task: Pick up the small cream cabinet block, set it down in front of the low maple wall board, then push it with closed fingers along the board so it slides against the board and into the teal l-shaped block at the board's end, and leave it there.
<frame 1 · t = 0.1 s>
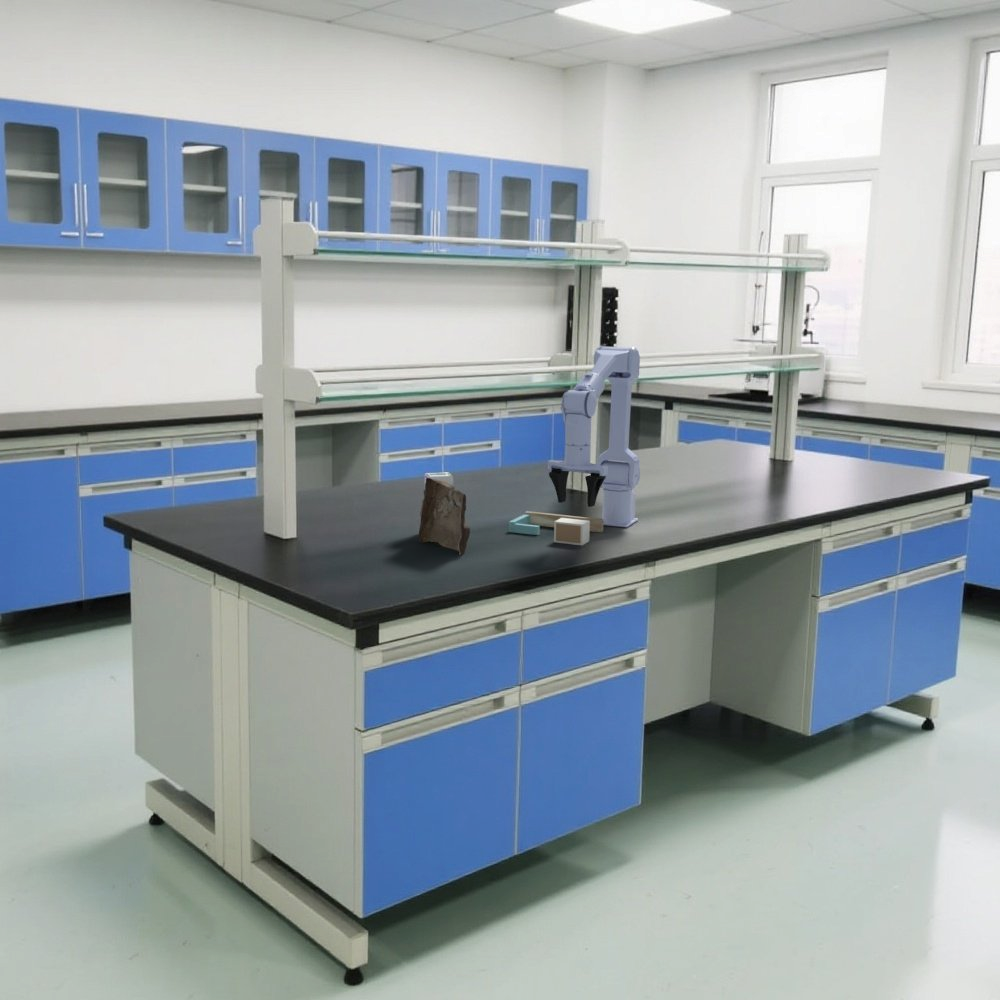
hand: (576, 503, 249), 10 cm above the countertop, tool pointing down, fingers open, 7 cm apart
wall board: (563, 527, 270), on the countertop
syrup box: (438, 534, 263), on the countertop
mineral sample: (445, 549, 249), on the countertop
teal l-shaped block: (531, 529, 268), on the countertop
cabinet block: (571, 542, 256), on the countertop
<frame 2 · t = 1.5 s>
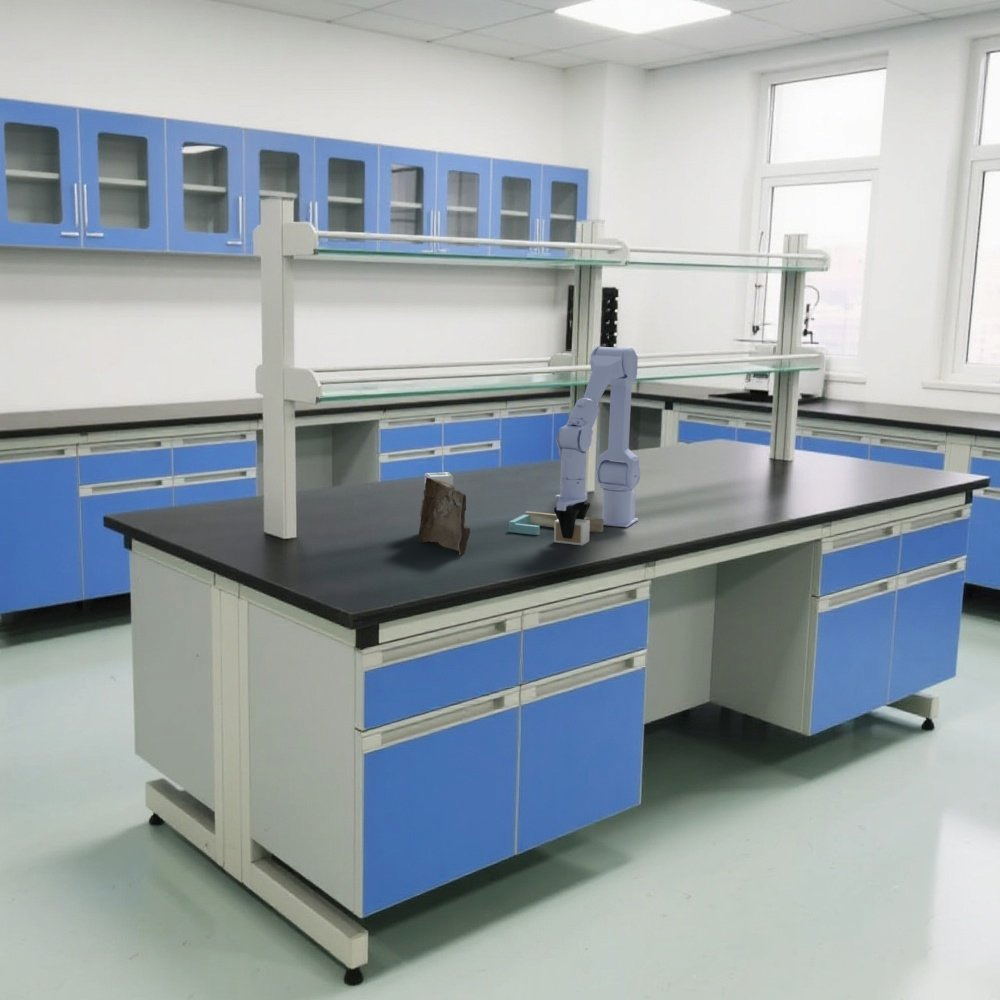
hand: (571, 535, 256), 1 cm above the countertop, tool pointing down, fingers closed on cabinet block, 5 cm apart
cabinet block: (571, 541, 256), on the countertop, touching gripper
everything else where it was.
when the fingers open (7 cm above the countertop, at t = 3.4 s): cabinet block drops 3 cm, on the countertop.
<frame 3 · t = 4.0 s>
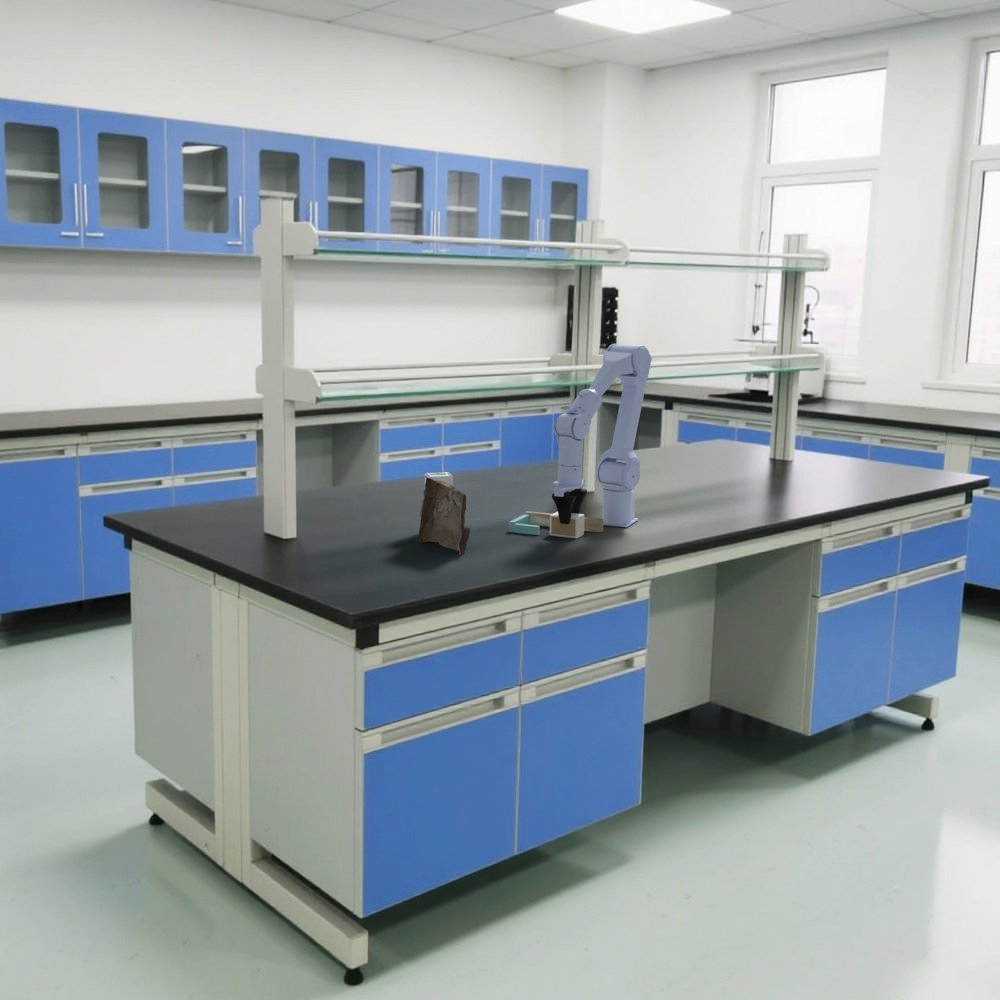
hand: (569, 521, 262), 3 cm above the countertop, tool pointing down, fingers open, 5 cm apart
cabinet block: (566, 535, 263), on the countertop
everything else where it was.
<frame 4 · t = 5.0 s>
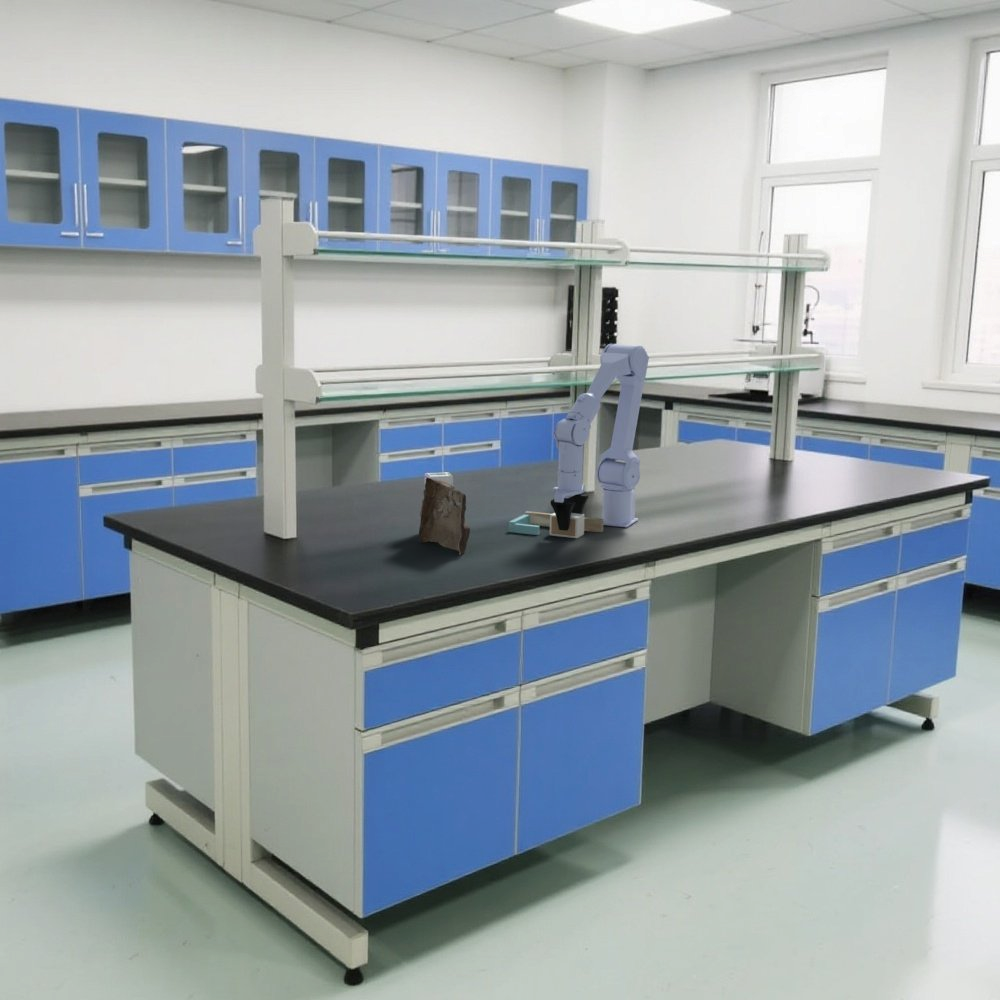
hand: (569, 527, 262), 2 cm above the countertop, tool pointing down, fingers open, 6 cm apart
nothing on the countertop moved.
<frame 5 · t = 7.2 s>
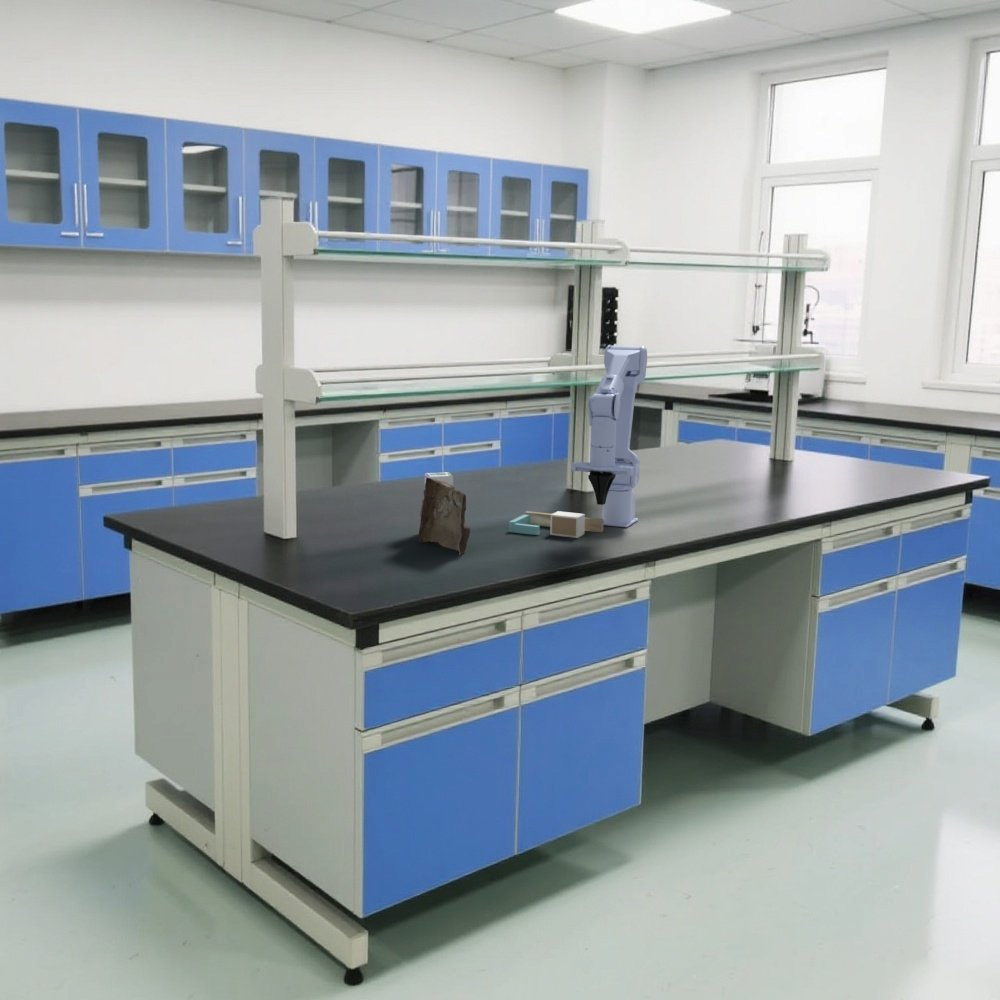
hand: (601, 504, 257), 9 cm above the countertop, tool pointing down, fingers closed
nothing on the countertop moved.
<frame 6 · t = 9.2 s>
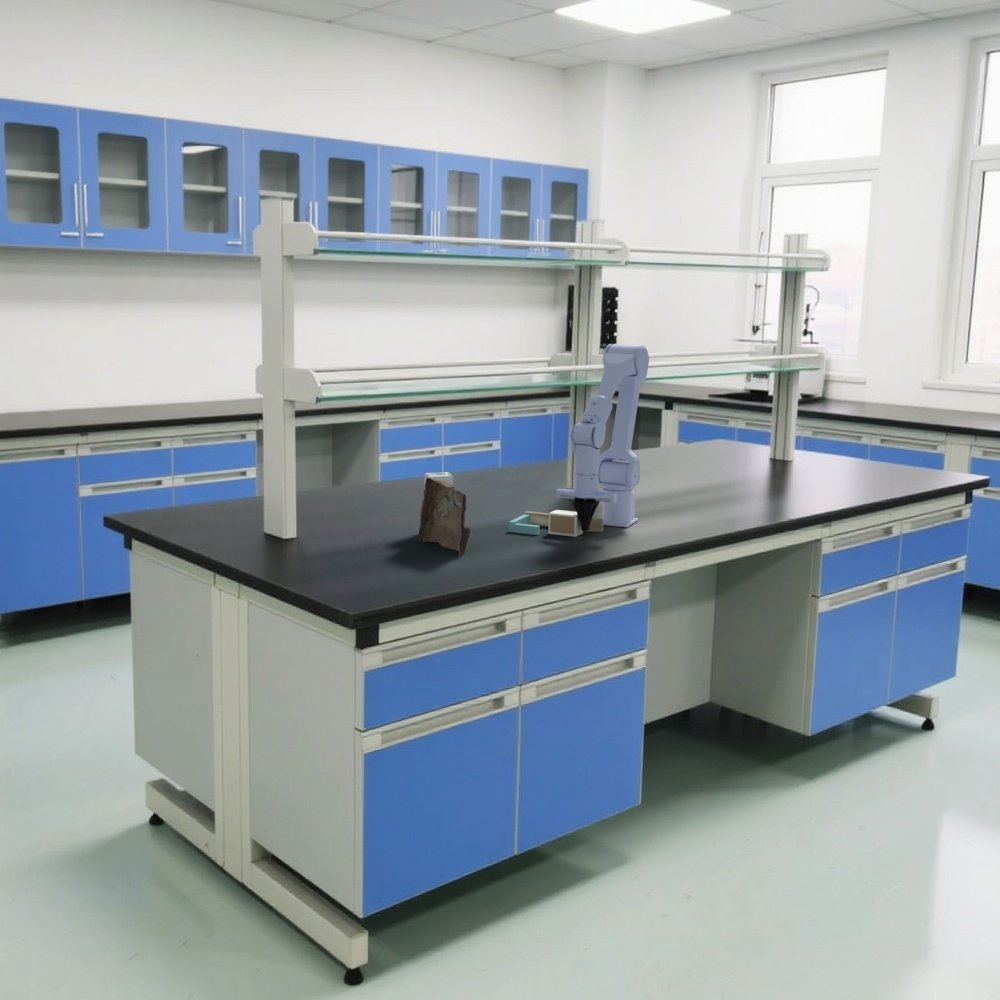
hand: (585, 530, 261), 1 cm above the countertop, tool pointing down, fingers closed
cabinet block: (565, 533, 264), on the countertop, touching gripper
everything else where it was.
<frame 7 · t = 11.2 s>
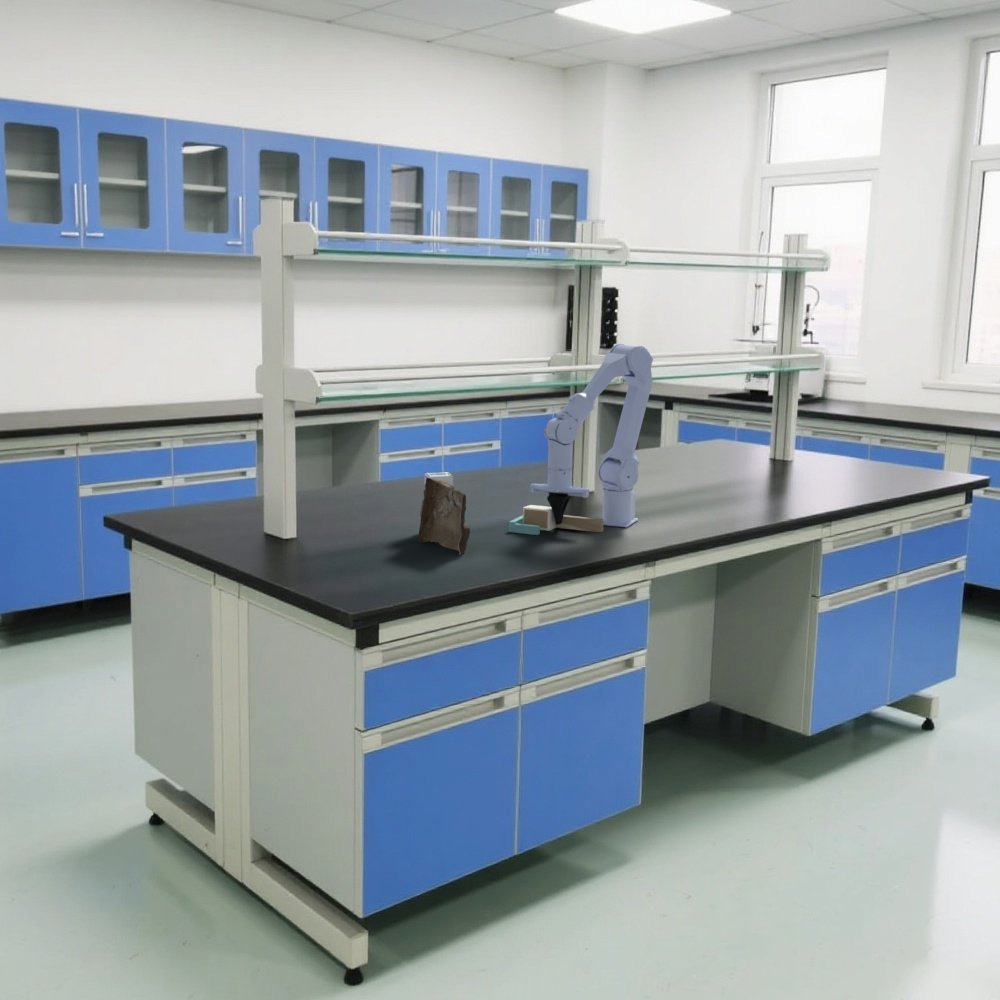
hand: (558, 523, 268), 1 cm above the countertop, tool pointing down, fingers closed
cabinet block: (539, 527, 270), on the countertop, touching teal l-shaped block, gripper, wall board
everything else where it was.
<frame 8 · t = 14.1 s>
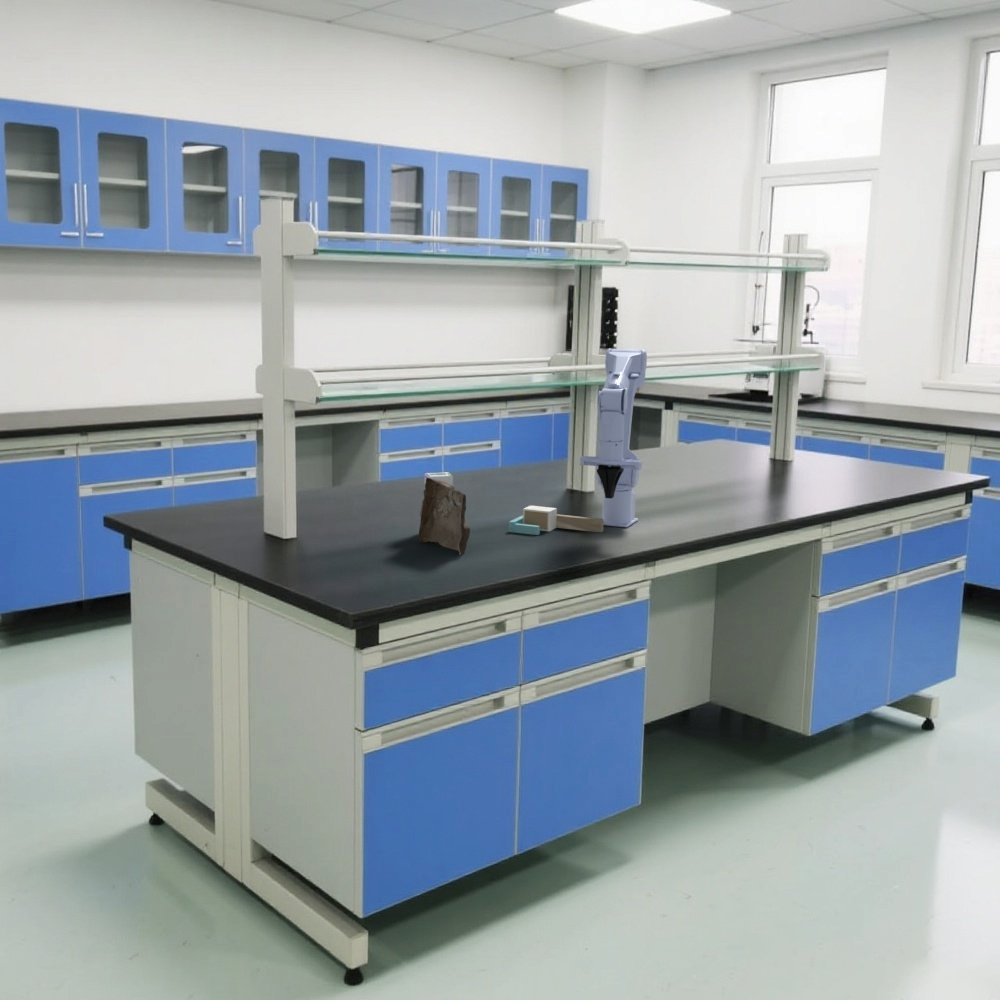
hand: (609, 497, 259), 9 cm above the countertop, tool pointing down, fingers closed
cabinet block: (539, 528, 270), on the countertop
everything else where it was.
at the end: cabinet block 0.8 cm from the target spot, on the countertop; cabinet block tilted 0°; the gripper is holding nothing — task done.
